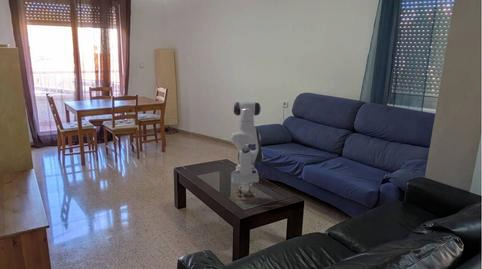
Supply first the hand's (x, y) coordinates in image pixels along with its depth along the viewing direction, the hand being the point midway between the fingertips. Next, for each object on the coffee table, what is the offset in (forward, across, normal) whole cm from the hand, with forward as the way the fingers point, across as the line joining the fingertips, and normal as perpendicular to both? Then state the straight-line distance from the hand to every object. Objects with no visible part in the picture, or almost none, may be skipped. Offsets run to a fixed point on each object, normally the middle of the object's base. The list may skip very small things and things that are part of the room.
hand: (245, 188), depth 250 cm
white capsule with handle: (+3, 0, -1) cm, 3 cm away
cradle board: (+6, 0, -2) cm, 7 cm away
